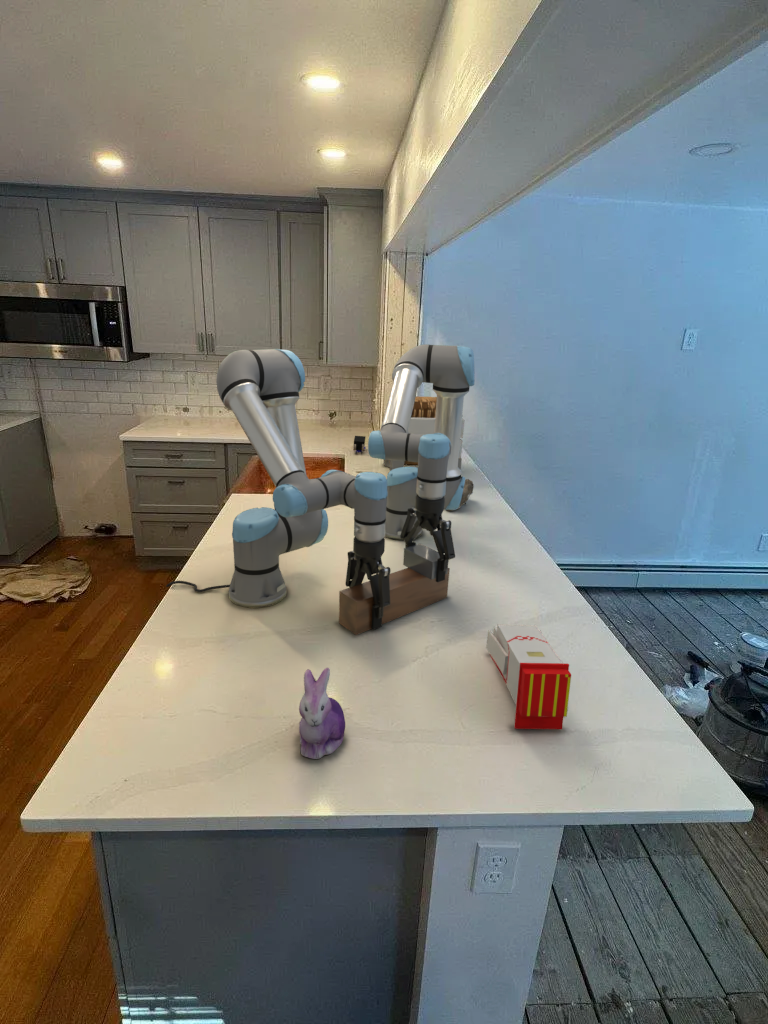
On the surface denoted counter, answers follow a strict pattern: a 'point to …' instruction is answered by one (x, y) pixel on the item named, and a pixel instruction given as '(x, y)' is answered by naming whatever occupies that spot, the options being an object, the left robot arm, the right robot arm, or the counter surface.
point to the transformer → (423, 427)
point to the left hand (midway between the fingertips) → (366, 620)
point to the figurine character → (359, 443)
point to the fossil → (466, 492)
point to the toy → (531, 675)
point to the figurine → (319, 718)
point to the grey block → (422, 560)
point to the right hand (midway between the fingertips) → (424, 572)
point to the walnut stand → (404, 598)
